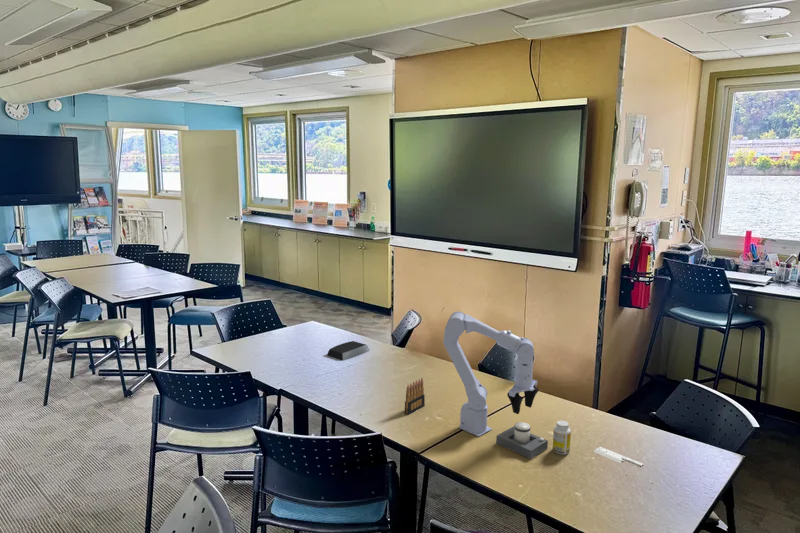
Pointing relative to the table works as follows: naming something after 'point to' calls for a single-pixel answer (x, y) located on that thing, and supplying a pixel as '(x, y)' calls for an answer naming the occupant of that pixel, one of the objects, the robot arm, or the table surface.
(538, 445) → the grey panel with knob
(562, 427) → the supplement bottle
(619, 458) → the white plastic blade
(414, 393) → the ammunition clip
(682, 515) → the table surface
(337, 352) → the external hard drive
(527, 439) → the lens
